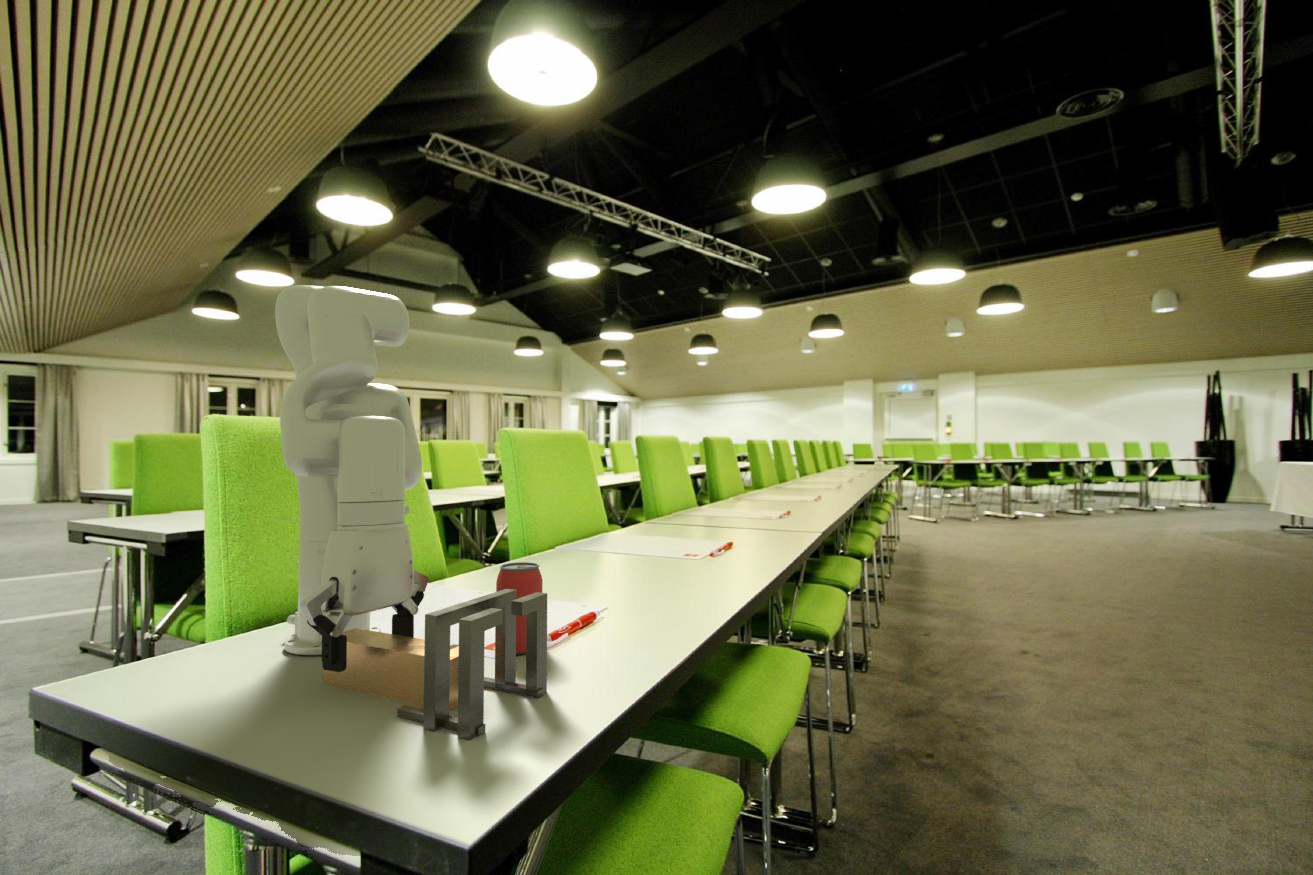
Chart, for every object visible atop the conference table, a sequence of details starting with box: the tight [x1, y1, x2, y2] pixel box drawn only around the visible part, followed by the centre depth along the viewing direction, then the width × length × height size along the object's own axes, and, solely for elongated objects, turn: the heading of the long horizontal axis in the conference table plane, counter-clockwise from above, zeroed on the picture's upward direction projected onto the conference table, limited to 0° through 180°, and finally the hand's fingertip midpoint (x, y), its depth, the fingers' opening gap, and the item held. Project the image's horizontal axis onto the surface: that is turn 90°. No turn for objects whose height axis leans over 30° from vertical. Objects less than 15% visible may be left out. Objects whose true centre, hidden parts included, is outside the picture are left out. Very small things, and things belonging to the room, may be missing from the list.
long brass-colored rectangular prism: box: [322, 628, 459, 712], centre depth 69 cm, size 20×4×6 cm, turn 66°
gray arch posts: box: [396, 589, 548, 741], centre depth 65 cm, size 11×13×12 cm
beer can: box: [495, 561, 543, 656], centre depth 84 cm, size 7×7×12 cm
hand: (370, 657), depth 71 cm, fingers open, 9 cm apart
